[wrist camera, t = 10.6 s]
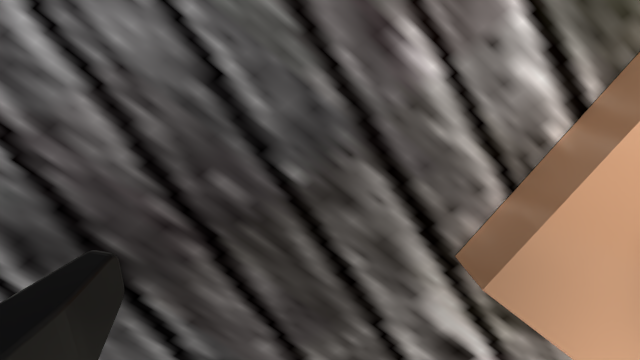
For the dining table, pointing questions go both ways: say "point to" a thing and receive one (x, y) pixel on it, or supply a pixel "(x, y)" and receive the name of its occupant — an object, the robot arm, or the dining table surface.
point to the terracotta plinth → (574, 234)
